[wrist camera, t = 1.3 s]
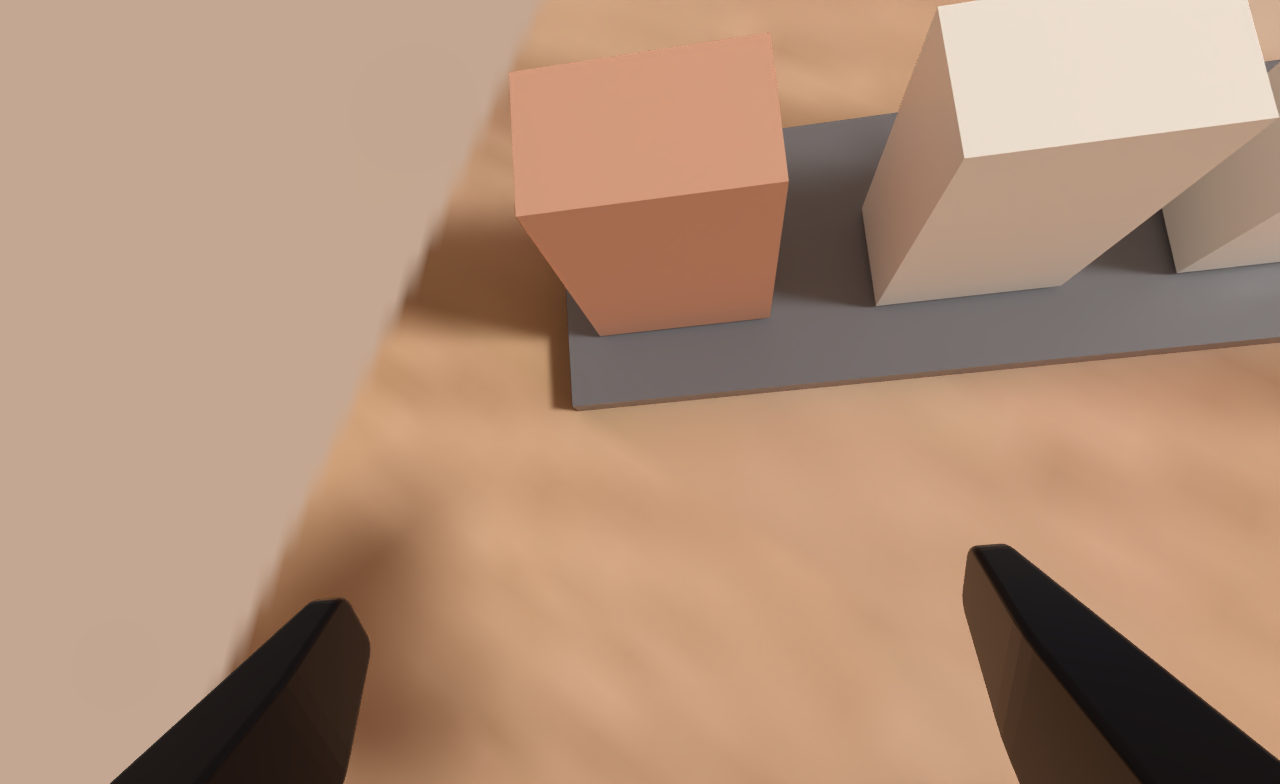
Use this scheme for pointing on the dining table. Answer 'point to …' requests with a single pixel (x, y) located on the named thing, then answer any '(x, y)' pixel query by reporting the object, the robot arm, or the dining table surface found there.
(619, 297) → the terracotta key
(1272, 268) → the keyboard deck
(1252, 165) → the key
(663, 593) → the dining table surface
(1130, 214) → the middle key
